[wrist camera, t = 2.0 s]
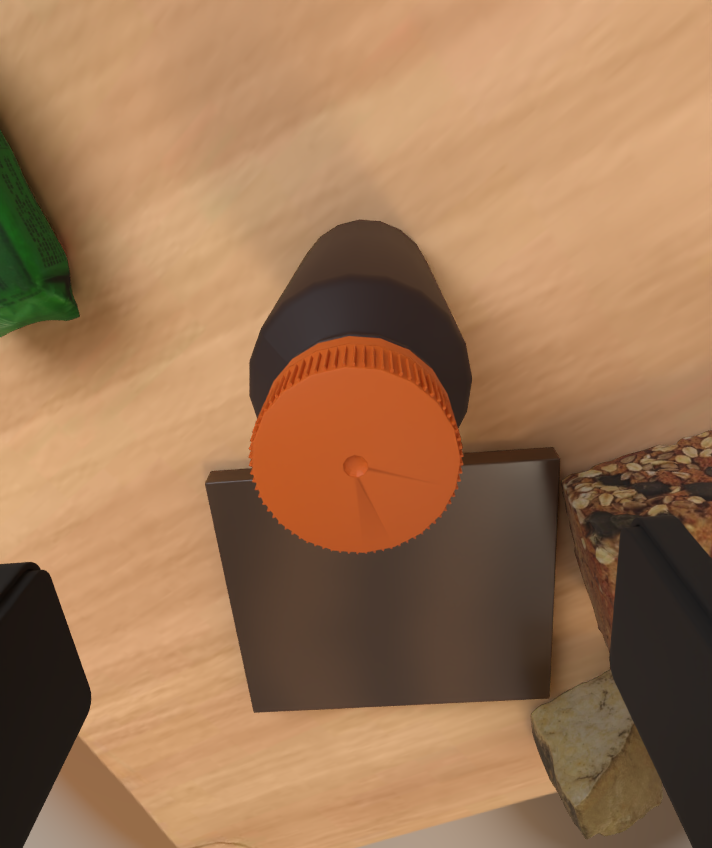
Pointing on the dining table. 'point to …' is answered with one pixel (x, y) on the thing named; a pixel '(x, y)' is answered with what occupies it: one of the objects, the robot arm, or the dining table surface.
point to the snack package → (28, 256)
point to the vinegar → (359, 394)
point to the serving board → (399, 596)
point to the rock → (596, 758)
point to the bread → (636, 508)
